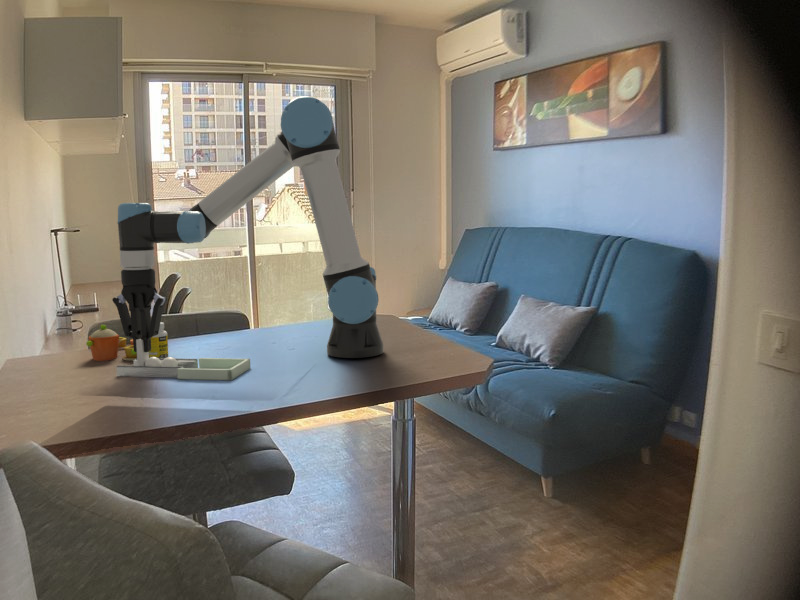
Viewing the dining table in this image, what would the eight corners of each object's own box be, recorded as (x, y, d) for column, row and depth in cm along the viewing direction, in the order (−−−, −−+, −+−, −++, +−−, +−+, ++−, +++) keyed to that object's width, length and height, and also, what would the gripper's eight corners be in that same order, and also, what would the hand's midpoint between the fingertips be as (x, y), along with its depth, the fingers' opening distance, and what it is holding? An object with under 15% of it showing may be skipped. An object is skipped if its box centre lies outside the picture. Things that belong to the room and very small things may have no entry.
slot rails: (198, 368, 157) (197, 358, 156) (180, 377, 148) (180, 367, 148) (137, 367, 159) (137, 357, 159) (117, 376, 150) (116, 365, 150)
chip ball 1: (163, 371, 155) (164, 356, 155) (156, 375, 151) (157, 359, 151) (149, 369, 156) (150, 354, 155) (141, 373, 152) (142, 357, 151)
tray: (250, 368, 156) (250, 358, 156) (231, 380, 145) (230, 370, 144) (200, 367, 158) (200, 357, 158) (177, 379, 146) (177, 369, 146)
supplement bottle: (161, 362, 165) (159, 325, 164) (142, 361, 166) (140, 324, 165) (172, 357, 170) (170, 321, 169) (154, 357, 171) (152, 321, 170)
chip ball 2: (181, 370, 155) (180, 355, 154) (173, 374, 151) (172, 359, 150) (166, 370, 155) (165, 355, 155) (158, 374, 151) (157, 358, 151)
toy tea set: (148, 362, 166) (145, 326, 165) (84, 365, 163) (81, 328, 162) (163, 344, 192) (162, 312, 190) (109, 346, 188) (106, 314, 187)
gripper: (171, 267, 154) (176, 362, 157) (121, 267, 155) (127, 361, 158) (155, 269, 146) (160, 369, 149) (103, 269, 148) (109, 367, 151)
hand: (143, 364), depth 154 cm, fingers closed
